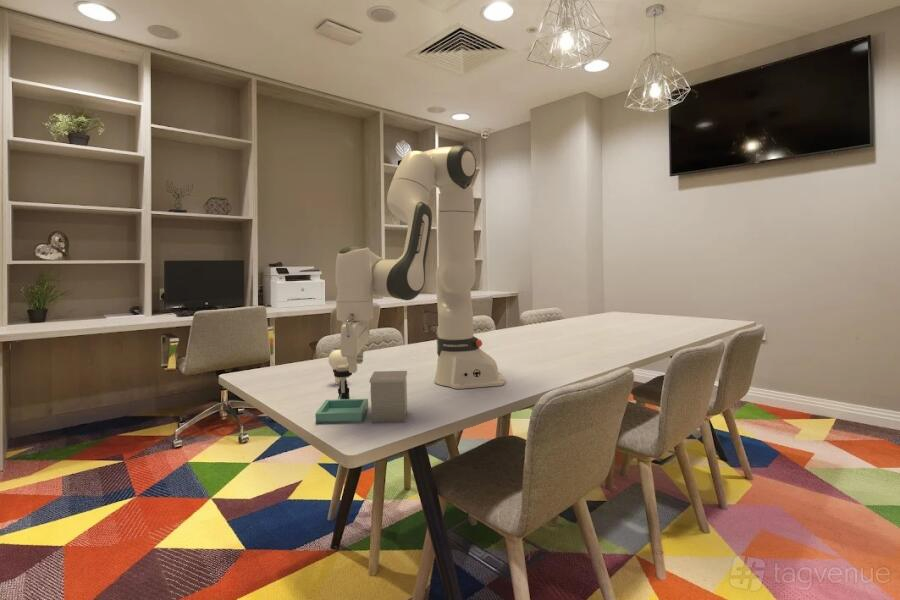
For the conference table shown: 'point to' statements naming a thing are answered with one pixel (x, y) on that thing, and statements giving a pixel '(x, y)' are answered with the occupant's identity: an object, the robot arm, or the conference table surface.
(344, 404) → the parts tray
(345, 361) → the lightbulb
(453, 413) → the conference table surface
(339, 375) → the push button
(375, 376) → the box
